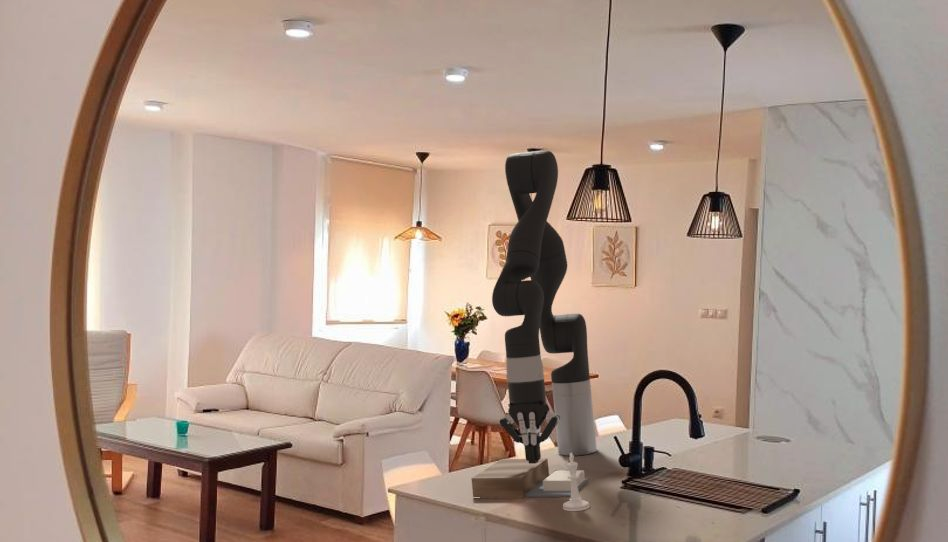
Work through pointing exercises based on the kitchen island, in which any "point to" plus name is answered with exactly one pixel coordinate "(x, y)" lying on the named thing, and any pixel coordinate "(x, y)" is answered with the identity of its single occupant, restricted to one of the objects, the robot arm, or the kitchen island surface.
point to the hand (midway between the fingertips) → (533, 462)
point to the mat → (540, 492)
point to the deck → (509, 478)
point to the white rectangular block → (561, 481)
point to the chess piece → (574, 490)
